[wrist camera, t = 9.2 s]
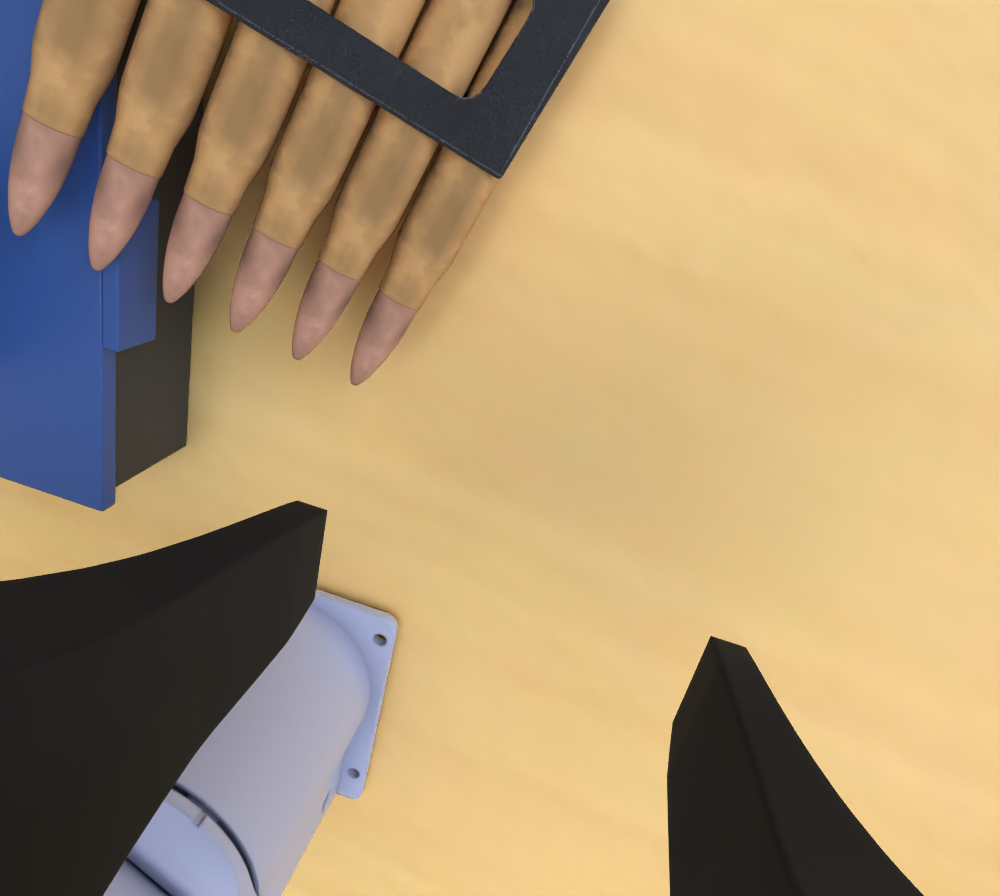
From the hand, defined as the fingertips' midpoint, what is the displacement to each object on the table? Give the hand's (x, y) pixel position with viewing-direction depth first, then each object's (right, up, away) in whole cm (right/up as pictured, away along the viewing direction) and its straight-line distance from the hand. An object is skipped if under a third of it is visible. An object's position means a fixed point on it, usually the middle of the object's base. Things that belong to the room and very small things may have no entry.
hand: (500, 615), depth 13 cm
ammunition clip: (-2, +16, +2) cm, 17 cm away
